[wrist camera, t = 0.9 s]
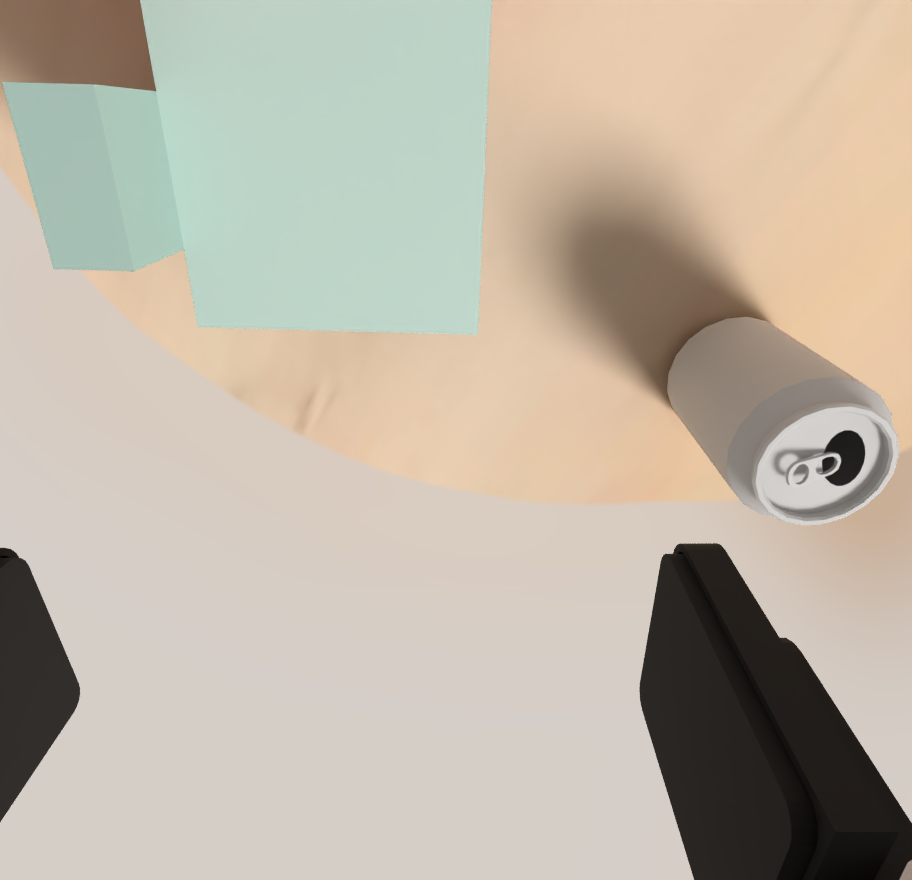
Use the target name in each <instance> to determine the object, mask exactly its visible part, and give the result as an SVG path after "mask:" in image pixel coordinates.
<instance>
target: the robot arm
mask: <svg viewBox="0 0 912 880" xmlns="http://www.w3.org/2000/svg"><path fill="white" fill-rule="evenodd" d="M79 696H80V687H79V683H78V681H77V678H76V676H75V674H74V671H73V669H72V667H71V664H70V662H69V660H68V657H67V655H66V653H65V650H64V648H63V645H62V643H61V641H60V638H59V636H58V634H57V631H56V629H55V627H54V624H53V622H52V620H51V617H50V615H49V613H48V610H47V608H46V605H45V603H44V601H43V598H42V596H41V594H40V591H39V589H38V587H37V584H36V582H35V580H34V577H33V575H32V572H31V570H30V568H29V566H28V564H27V563H26V561H25V560H23V559H21V558H19V557H18V555H17V554H16V553H15V552H14V551H12V550H11V549H7V548H0V822H1V820H2V819H3V817H4V816H5V814H6V813H7V811H8V810H9V808H10V807H11V805H12V804H13V802H14V801H15V799H16V798H17V796H18V795H19V793H20V792H21V790H22V789H23V787H24V786H25V784H26V783H27V781H28V780H29V778H30V777H31V775H32V774H33V772H34V771H35V769H36V768H37V766H38V765H39V763H40V762H41V760H42V759H43V757H44V756H45V754H46V753H47V751H48V750H49V748H50V747H51V745H52V744H53V742H54V741H55V739H56V738H57V736H58V735H59V733H60V732H61V730H62V729H63V727H64V726H65V724H66V723H67V721H68V720H69V719H70V717H71V715H72V714H73V712H74V711H75V709H76V707H77V704H78V701H79ZM640 701H641V706H642V711H643V714H644V717H645V721H646V724H647V727H648V730H649V733H650V737H651V740H652V743H653V747H654V750H655V753H656V756H657V760H658V763H659V766H660V769H661V773H662V776H663V779H664V782H665V786H666V789H667V792H668V795H669V799H670V802H671V805H672V808H673V812H674V815H675V818H676V822H677V824H678V828H679V831H680V835H681V838H682V841H683V844H684V848H685V851H686V854H687V857H688V861H689V864H690V867H691V870H692V874H693V877H694V880H912V823H911V822H910V820H909V818H908V817H907V816H906V814H905V812H904V811H903V809H902V808H901V806H900V805H899V803H898V801H897V800H896V798H895V797H894V795H893V794H892V792H891V791H890V789H889V787H888V786H887V784H886V783H885V781H884V780H883V778H882V777H881V775H880V774H879V772H878V771H877V769H876V767H875V766H874V764H873V763H872V761H871V760H870V758H869V756H868V755H867V753H866V752H865V750H864V749H863V747H862V746H861V744H860V742H859V741H858V739H857V738H856V737H855V735H854V733H853V732H852V730H851V729H850V727H849V725H848V724H847V722H846V721H845V719H844V718H843V716H842V715H841V713H840V711H839V710H838V708H837V707H836V705H835V704H834V702H833V701H832V699H831V697H830V696H829V694H828V693H827V691H826V690H825V688H824V687H823V685H822V683H821V682H820V680H819V679H818V677H817V676H816V674H815V673H814V671H813V670H812V668H811V666H810V665H809V663H808V662H807V660H806V659H805V657H804V656H803V654H802V652H801V651H800V650H799V649H798V648H797V646H796V645H795V644H794V643H793V642H792V641H790V640H788V639H787V638H779V636H778V635H777V633H776V631H775V630H774V628H773V627H772V625H771V624H770V622H769V620H768V619H767V617H766V615H765V614H764V612H763V611H762V609H761V607H760V606H759V604H758V602H757V601H756V599H755V598H754V596H753V594H752V593H751V591H750V590H749V588H748V586H747V585H746V583H745V581H744V580H743V578H742V577H741V575H740V574H739V572H738V570H737V569H736V567H735V565H734V564H733V562H732V560H731V559H730V557H729V556H728V554H727V552H726V551H725V550H724V548H723V547H722V546H721V545H719V544H678V545H677V546H676V548H675V549H674V553H673V554H665V555H663V557H662V560H661V564H660V570H659V576H658V582H657V587H656V593H655V599H654V605H653V611H652V617H651V622H650V628H649V634H648V640H647V646H646V652H645V658H644V663H643V669H642V675H641V681H640Z"/></svg>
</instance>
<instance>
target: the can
mask: <svg viewBox="0 0 912 880" xmlns="http://www.w3.org/2000/svg"><path fill="white" fill-rule="evenodd" d="M667 393H668V396H669V400H670V403H671V406H672V409H673V410H674V411H675V413H676V414H677V415H678V417H679V418H680V419H681V421H682V422H683V424H684V425H685V426H686V428H687V429H688V430H689V432H690V433H691V435H692V436H693V437H694V439H695V440H696V441H697V443H698V444H699V445H700V447H701V448H702V450H703V451H704V452H705V454H706V455H707V456H708V458H709V459H710V460H711V462H712V463H713V465H714V466H715V467H716V469H717V470H718V471H719V473H720V474H721V475H722V477H723V478H724V480H725V481H726V482H727V484H728V485H729V486H730V488H731V489H732V490H733V492H734V493H735V494H736V495H737V497H738V498H739V499H740V501H741V502H742V503H743V504H744V505H746V506H748V507H750V508H751V509H753V510H755V511H756V512H758V513H760V514H762V515H768V516H772V517H776V518H777V519H779V520H781V521H782V522H787V523H792V524H798V525H816V524H825V523H828V522H831V521H835V520H838V519H841V518H844V517H846V516H848V515H850V514H852V513H854V512H855V511H857V510H859V509H860V508H862V507H864V506H866V505H867V504H868V503H869V502H870V501H871V500H872V499H873V498H874V497H875V496H877V495H878V494H879V493H880V492H881V491H882V490H883V488H884V487H885V485H886V484H887V482H888V481H889V479H890V478H891V476H892V475H893V473H894V471H895V467H896V463H897V459H898V456H899V445H898V436H897V433H896V431H895V430H894V428H893V422H892V413H891V412H890V410H889V408H888V407H887V405H886V404H885V402H884V400H883V399H882V397H881V395H879V394H878V393H876V392H875V391H873V390H872V389H870V388H869V387H867V386H866V385H864V384H863V383H862V382H860V381H858V380H857V379H855V378H854V377H852V376H851V375H849V374H848V373H846V372H845V371H843V370H841V369H840V368H838V367H837V366H835V365H834V364H832V363H831V362H829V361H828V360H826V359H825V358H823V357H821V356H820V355H818V354H817V353H815V352H814V351H812V350H811V349H809V348H808V347H806V346H804V345H803V344H801V343H800V342H798V341H797V340H795V339H794V338H792V337H791V336H789V335H788V334H786V333H784V332H783V331H781V330H780V329H778V328H777V327H775V326H774V325H772V324H771V323H769V322H767V321H764V320H760V319H756V318H751V317H738V318H727V319H724V320H722V321H719V322H717V323H714V324H711V325H709V326H706V327H705V328H704V329H702V330H701V331H699V332H698V333H697V334H695V335H694V336H693V337H691V338H690V339H689V340H688V341H687V342H686V344H685V345H684V346H683V347H682V348H681V350H680V351H679V352H678V353H677V355H676V356H675V359H674V361H673V364H672V366H671V369H670V371H669V373H668V386H667Z"/></svg>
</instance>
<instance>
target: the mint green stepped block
mask: <svg viewBox="0 0 912 880" xmlns="http://www.w3.org/2000/svg"><path fill="white" fill-rule="evenodd" d="M140 3H141V9H142V14H143V20H144V26H145V31H146V37H147V43H148V48H149V54H150V60H151V65H152V71H153V77H154V82H155V88H156V91H150V90H141V89H131V88H122V87H113V86H104V85H95V84H62V83H25V82H2V85H3V88H4V92H5V95H6V99H7V103H8V106H9V110H10V113H11V117H12V121H13V124H14V128H15V131H16V135H17V139H18V142H19V146H20V150H21V153H22V157H23V160H24V164H25V168H26V171H27V175H28V178H29V182H30V186H31V189H32V193H33V196H34V200H35V204H36V207H37V211H38V215H39V218H40V222H41V225H42V229H43V233H44V236H45V240H46V243H47V247H48V250H49V254H50V258H51V261H52V265H53V269H72V270H109V271H136V270H138V269H140V268H143V267H145V266H147V265H149V264H152V263H154V262H156V261H158V260H161V259H163V258H165V257H168V256H170V255H172V254H174V253H177V252H179V251H181V250H183V249H184V252H185V257H186V263H187V269H188V274H189V280H190V286H191V291H192V297H193V303H194V308H195V314H196V320H197V325H198V327H213V328H250V329H287V330H324V331H361V332H398V333H434V334H471V335H478V321H479V297H480V273H481V249H482V225H483V201H484V177H485V153H486V129H487V105H488V81H489V57H490V33H491V9H492V0H140Z"/></svg>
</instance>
